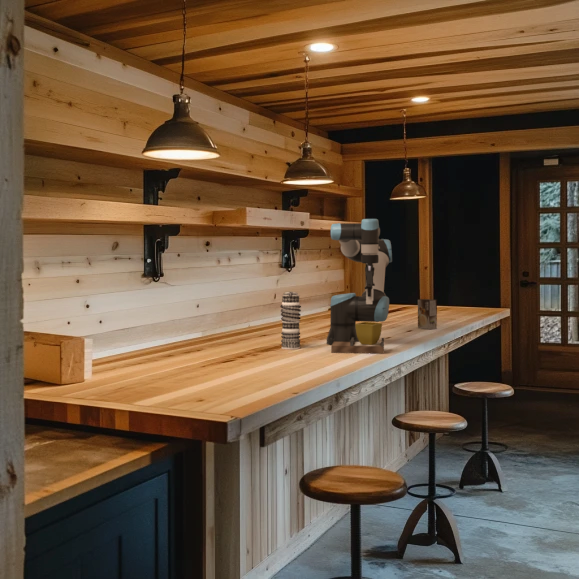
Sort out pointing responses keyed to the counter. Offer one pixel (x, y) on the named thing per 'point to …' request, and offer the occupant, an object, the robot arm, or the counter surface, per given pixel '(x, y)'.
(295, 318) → the decorative candle
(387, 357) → the counter surface
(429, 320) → the coffee box
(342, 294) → the robot arm
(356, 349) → the dock
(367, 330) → the flower pot
